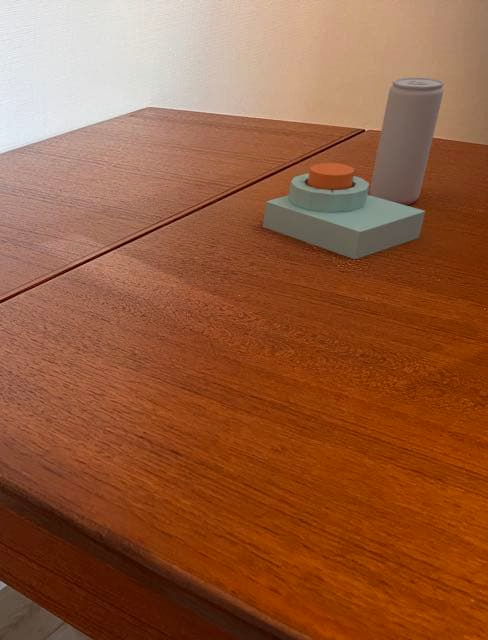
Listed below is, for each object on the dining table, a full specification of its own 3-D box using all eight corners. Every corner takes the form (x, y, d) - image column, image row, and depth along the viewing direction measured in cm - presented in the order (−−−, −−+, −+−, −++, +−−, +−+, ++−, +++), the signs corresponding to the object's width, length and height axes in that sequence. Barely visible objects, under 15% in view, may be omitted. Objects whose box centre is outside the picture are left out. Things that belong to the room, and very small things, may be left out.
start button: (360, 187, 83) (364, 169, 82) (331, 195, 81) (334, 177, 80) (326, 178, 86) (329, 160, 85) (298, 185, 84) (300, 168, 83)
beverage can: (402, 210, 88) (429, 89, 82) (358, 200, 92) (381, 82, 86) (427, 199, 91) (455, 80, 85) (383, 189, 94) (407, 75, 88)
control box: (419, 238, 82) (430, 192, 79) (354, 260, 78) (364, 212, 76) (324, 208, 90) (331, 166, 88) (262, 227, 87) (268, 183, 84)
